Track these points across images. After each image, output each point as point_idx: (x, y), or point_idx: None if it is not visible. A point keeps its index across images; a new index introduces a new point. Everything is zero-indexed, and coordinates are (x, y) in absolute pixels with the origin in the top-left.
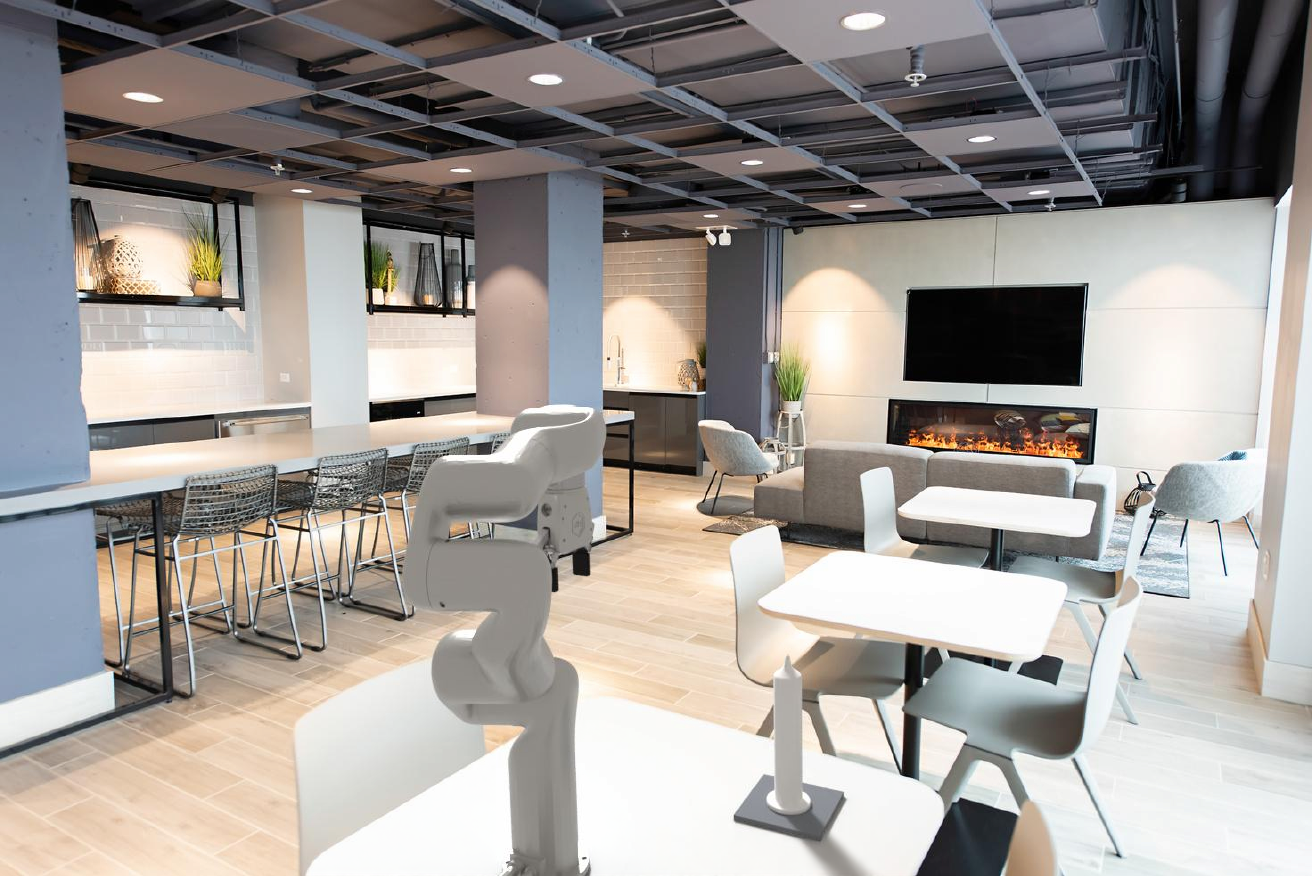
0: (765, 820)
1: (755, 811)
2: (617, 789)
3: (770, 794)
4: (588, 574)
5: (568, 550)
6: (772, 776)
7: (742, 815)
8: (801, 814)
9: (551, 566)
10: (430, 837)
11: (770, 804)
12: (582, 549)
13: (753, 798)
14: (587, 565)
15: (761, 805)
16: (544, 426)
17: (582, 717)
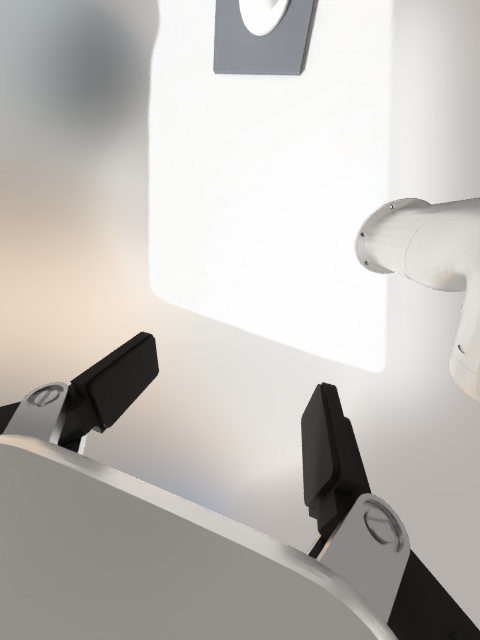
0: (306, 14)
1: (289, 42)
2: (268, 227)
3: (259, 26)
4: (148, 336)
5: (314, 604)
6: (214, 54)
7: (299, 58)
8: None
9: (383, 516)
10: (351, 332)
11: (280, 14)
12: (73, 418)
13: (263, 59)
14: (128, 355)
15: (275, 39)
16: None
17: (180, 295)
